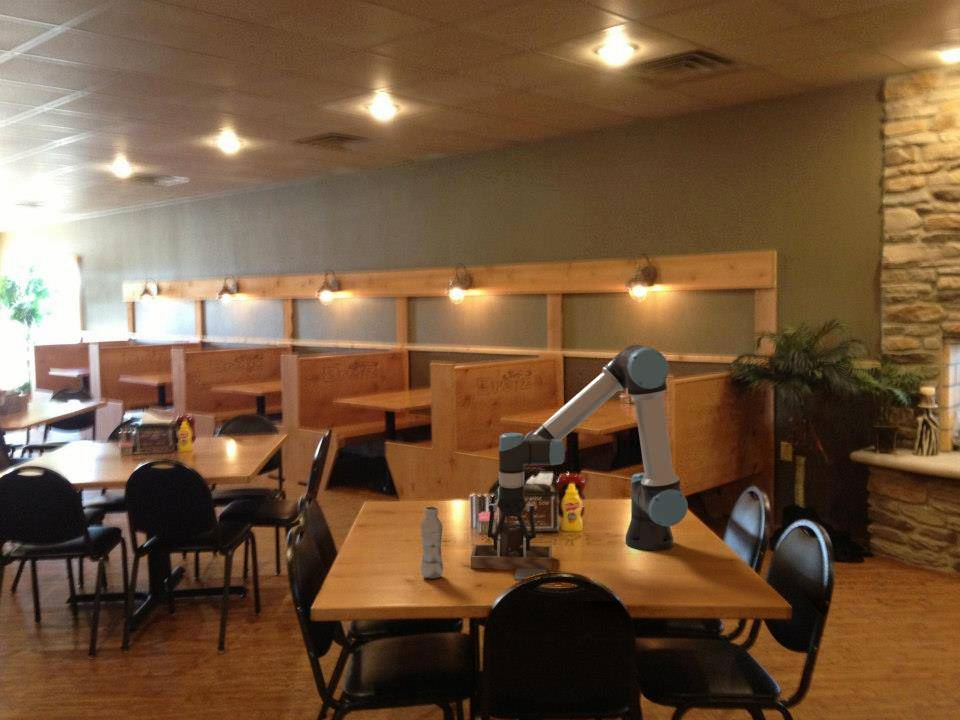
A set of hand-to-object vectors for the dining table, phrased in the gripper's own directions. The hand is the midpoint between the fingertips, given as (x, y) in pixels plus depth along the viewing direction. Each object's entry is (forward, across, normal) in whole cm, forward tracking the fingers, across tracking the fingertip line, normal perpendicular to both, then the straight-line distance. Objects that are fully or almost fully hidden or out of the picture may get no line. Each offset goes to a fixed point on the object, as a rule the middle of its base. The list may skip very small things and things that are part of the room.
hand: (511, 560), depth 260 cm
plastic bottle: (+1, +22, +15) cm, 27 cm away
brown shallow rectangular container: (+1, 0, 0) cm, 1 cm away
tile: (+1, -6, +11) cm, 13 cm away
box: (+1, 0, 0) cm, 1 cm away
